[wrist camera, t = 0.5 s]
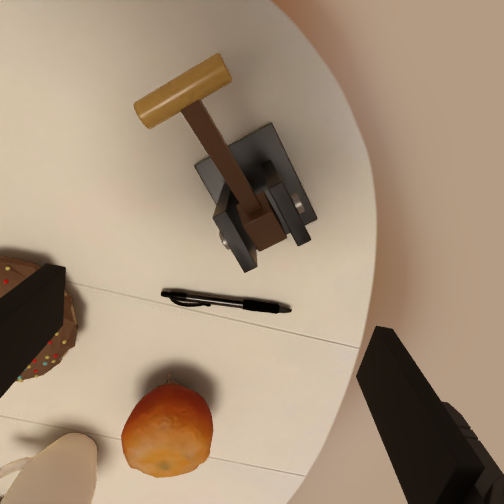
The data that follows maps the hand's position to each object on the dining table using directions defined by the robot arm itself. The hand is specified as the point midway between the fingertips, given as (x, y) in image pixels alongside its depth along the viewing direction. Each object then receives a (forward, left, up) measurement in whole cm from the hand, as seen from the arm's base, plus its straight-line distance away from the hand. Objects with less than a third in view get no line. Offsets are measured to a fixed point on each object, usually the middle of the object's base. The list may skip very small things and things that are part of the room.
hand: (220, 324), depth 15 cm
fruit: (+25, 0, -22) cm, 33 cm away
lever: (-5, -2, -10) cm, 12 cm away
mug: (+37, -12, -22) cm, 44 cm away
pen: (+11, +2, -22) cm, 25 cm away
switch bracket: (-2, +2, -22) cm, 22 cm away
